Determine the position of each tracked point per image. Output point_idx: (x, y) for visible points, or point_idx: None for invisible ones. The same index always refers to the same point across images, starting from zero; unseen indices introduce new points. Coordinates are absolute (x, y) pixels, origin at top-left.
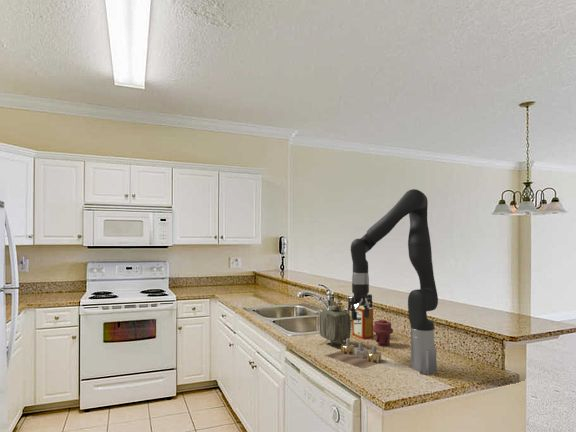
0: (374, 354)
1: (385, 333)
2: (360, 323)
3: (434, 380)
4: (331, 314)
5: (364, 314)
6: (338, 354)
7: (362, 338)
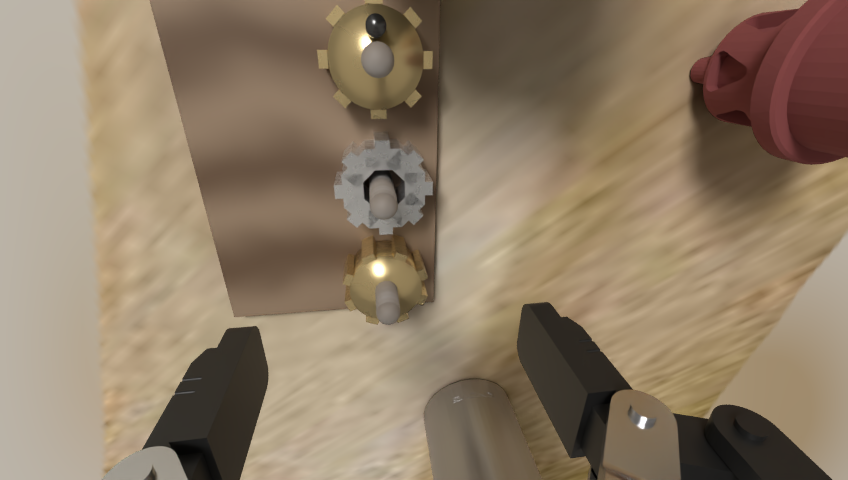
0: (372, 303)
1: (761, 144)
2: None
3: (408, 469)
4: None
5: (540, 328)
6: (273, 51)
7: None
